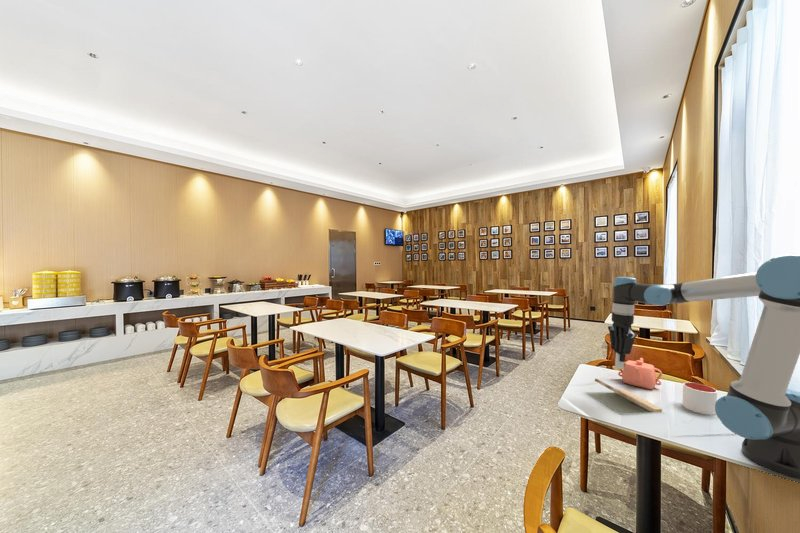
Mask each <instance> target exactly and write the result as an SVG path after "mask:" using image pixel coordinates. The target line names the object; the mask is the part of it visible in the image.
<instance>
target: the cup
mask: <svg viewBox="0 0 800 533" xmlns="http://www.w3.org/2000/svg"><path fill="white" fill-rule="evenodd" d="M681 400H682V401H681V402H682V407H683V408H686V409H687V410H689V411H692V412H695V413H698V414H702V415H708V416H709V415H710V416H715V415H716V412H715V403H716V401H717V400H718V390H717V389H716V388H714V387H711V386H709V385H705V384H701V383H697V382H691V381H690V382H683V383H682V399H681Z"/></svg>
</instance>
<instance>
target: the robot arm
mask: <svg viewBox="0 0 800 533" xmlns="http://www.w3.org/2000/svg"><path fill="white" fill-rule="evenodd" d="M612 288H613V289H612V290H613V292H612V294H613V295H612V308H611V312H612V313H611V321H612V322H613V323H612V325H608V326H607V329H608V332H609V340H610V341H609V342H610V349H611V350H613V352H614V360H615V361H614V368H615V369H616V370H620V369H622V370H623V369H624V366H625V364H624V362H626V355H630V354H631V353H632V352H631V351H632V348H633V344H634V341H635V339H636V338H637V336H638V333H635V332H633V331H632V330H633V329H632V325H633V324H634V320H635V319H634V318H635V316H634V314H635V306H636V302H637V303H641V304H647V305H651V306H660V307H661V306H666V305H667V304H684V303H690V302H691V303H693V302H703V301H714V300H726V299H727V300H729V299H734V298H735V299H737V298H738V299H740V298H750V297H757V298H758V299H759V301H760V302H762V303H763V308H762V311H761V315H760V318H759V319H758V320H759V321H758V324H757V327H756V328H755V329H756V330H755V333H754V336H753V339H752V342H751V344H750V348H749V351H748V353H747V357H746V360H745V363H744V366H743V369H742V373H741V376H740V378H739V379H738V380H733V381H731V382H730V385H729V388H728V391H727V393H726V395H724V396H720V398H717V401H716V403H715V412H716V414H715V415H716V417H717V419H719V420H720V422H721V424H722V425H723V426H724V427H725V428H727V429H728V431H730V432H732V433H734V434H735V435H736V436H739V437H740V438H743V441H742V442H741V452H742V454H743V455H745V456H746V457H747V458H748V459H750V460H751V461H753V462H755V463H756V464H758V465H760V466H762V467H764V468H767V469H769V470H772V471H775V472H777V473H780V474H783V475H785V474H786V476H790V477H793V478H798V479H800V392H799V391H796V390H793V389H790V388H788V387H789V384H790V381H791V380H792V376H793V373H794V371H795V368H796V365H797V364H798V361H799V360H798V359H799V357H800V253H792V254H790V253H789V254H784V255H783V254H782V255H779V256H775V257H772V258H770V259H768V260H766V261H765V262H764V263H762V264H761V265H760V266H759V267H758V269H757V271H756V272H750V273H743V274H735V275H729V276H721V277H714V278H707V279H700V280H693V281H687V282H679V283H678V282H677V283H671V284H668V283H667V284H648V283H639V282H637V278H635V277H630V276H616V277H615V278H614V282H613V287H612Z"/></svg>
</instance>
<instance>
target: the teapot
mask: <svg viewBox="0 0 800 533" xmlns="http://www.w3.org/2000/svg"><path fill="white" fill-rule="evenodd" d="M656 371H657V372H658V373H659V375H658V376H657V374H656ZM617 374H618V376H619V377H621V379H622V382H623V383H625V384H627V385H630V386H635V387H638V388H643V389H648V390H654V388H656V387H655V386H661V385H662V382H661V381H660V379H661V378H662V376H663V372H662V371H661V369H659V368H657V367H655V366H654V365H653V364H650V363H646V362H644V358H643V357H640V358H639V360H638V359H636V360H630V359H628V360H627V361H625V362H624V369H619V371H618V373H617Z"/></svg>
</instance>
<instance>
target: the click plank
mask: <svg viewBox="0 0 800 533" xmlns="http://www.w3.org/2000/svg"><path fill="white" fill-rule="evenodd" d="M594 382H597V383H598V384H600V385H602V386H603V387H605V388H607V390H610V391H611V392H613V391H614V392H615V393H617V394H619V395H621V396H623V397H624V398H626V399H628V400H630V401H632V402H634V403H636V404H637V405H639V406H641V407H643V408H645V409H647V410H649V411H651V412H652V410H653V409H652V408H650V407H648V406H647V405H645V404H643V403H641V402H639V401H637V400H636V399H634V398H632V397H630V396H628V395H627V394H625V393H623V392H621V391H619V390H620V389H617V388H615V387H613V386H611V385H610V384H607V383H605V382H603V381H601V379H597V378H595V379H594Z"/></svg>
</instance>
